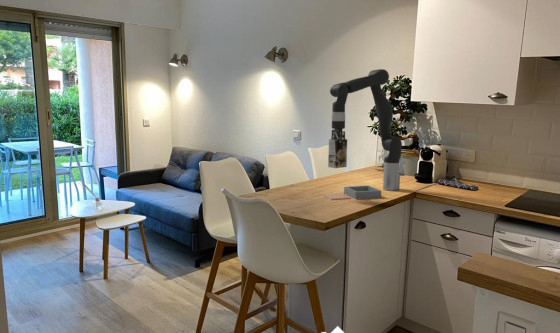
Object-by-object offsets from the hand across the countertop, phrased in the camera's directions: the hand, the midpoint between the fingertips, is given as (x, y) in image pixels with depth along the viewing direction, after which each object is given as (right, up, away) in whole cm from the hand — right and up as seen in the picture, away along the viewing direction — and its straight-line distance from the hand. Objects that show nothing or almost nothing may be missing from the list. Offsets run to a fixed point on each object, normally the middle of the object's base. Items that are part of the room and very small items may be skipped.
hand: (337, 148), depth 237 cm
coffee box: (0, -11, +2) cm, 11 cm away
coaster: (0, -28, +4) cm, 28 cm away
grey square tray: (+15, -27, +8) cm, 32 cm away
